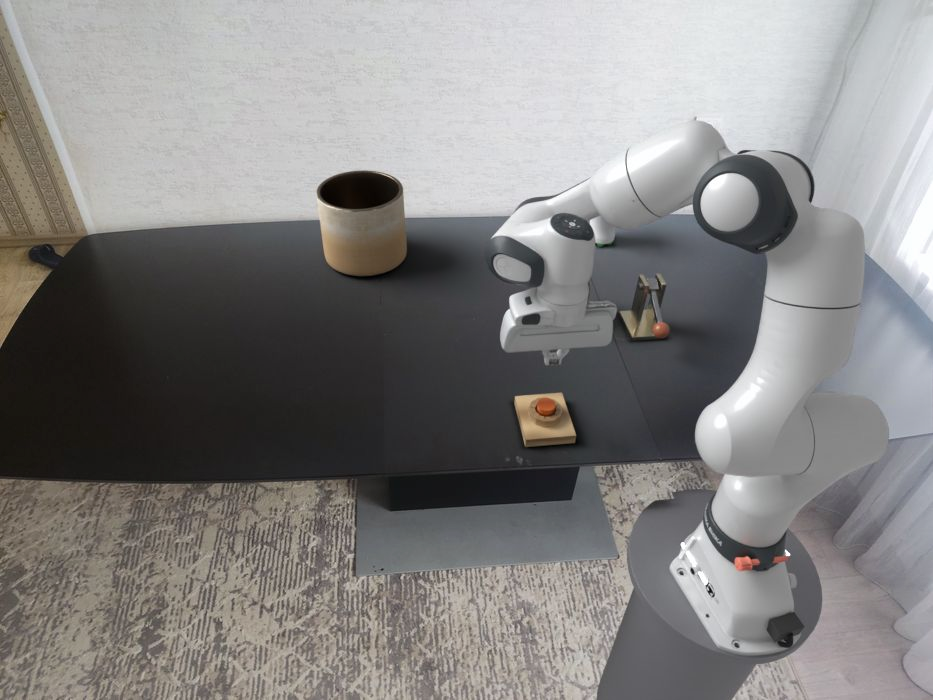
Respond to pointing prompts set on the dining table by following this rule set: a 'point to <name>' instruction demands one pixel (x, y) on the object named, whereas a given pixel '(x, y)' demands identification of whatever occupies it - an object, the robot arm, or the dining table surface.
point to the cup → (602, 231)
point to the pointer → (657, 310)
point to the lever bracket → (642, 311)
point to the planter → (362, 222)
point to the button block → (544, 421)
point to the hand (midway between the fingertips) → (552, 362)
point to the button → (545, 407)
